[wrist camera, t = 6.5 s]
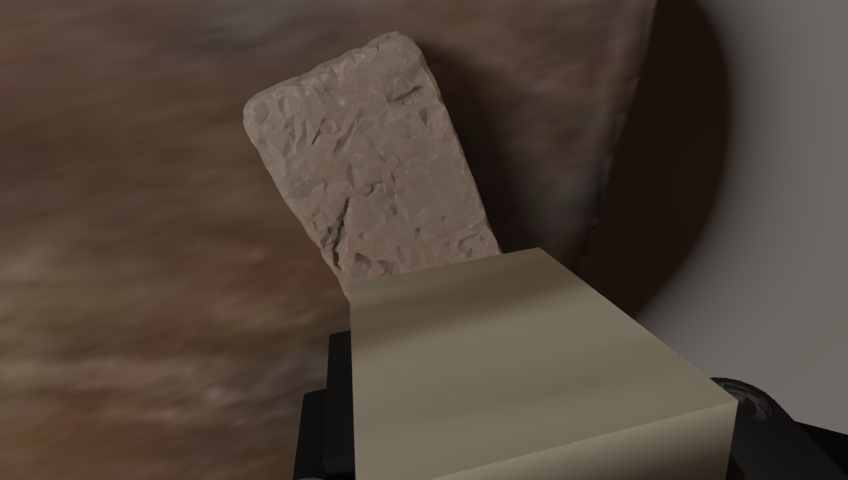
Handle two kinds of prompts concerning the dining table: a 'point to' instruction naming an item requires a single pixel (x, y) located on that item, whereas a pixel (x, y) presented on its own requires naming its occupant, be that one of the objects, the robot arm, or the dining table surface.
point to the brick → (372, 163)
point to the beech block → (522, 381)
